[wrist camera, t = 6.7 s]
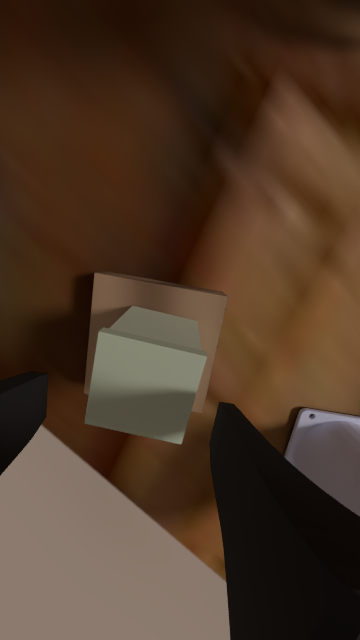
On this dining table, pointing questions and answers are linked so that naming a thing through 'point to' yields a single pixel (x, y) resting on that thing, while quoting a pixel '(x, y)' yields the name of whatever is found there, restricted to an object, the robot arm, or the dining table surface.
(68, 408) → the dining table surface
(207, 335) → the tan flat square block
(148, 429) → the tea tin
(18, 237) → the dining table surface
